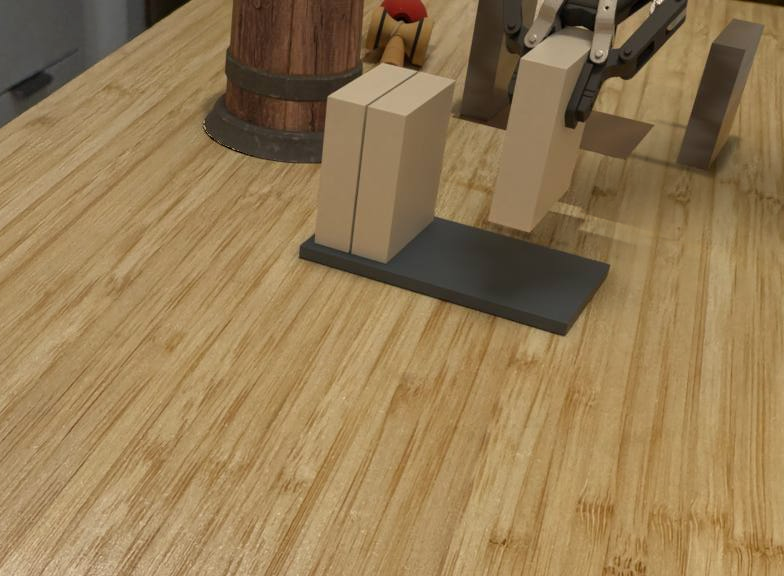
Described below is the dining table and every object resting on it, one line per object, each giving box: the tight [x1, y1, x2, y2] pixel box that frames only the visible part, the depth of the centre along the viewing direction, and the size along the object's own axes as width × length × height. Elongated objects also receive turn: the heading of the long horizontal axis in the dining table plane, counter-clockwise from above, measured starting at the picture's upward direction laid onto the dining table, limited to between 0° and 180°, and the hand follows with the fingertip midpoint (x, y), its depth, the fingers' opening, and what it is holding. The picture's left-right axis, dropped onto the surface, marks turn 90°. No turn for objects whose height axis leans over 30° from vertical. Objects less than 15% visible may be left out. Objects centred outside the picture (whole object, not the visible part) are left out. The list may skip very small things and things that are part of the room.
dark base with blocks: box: [298, 63, 611, 336], centre depth 87 cm, size 22×12×12 cm, turn 63°
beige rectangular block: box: [487, 26, 594, 233], centre depth 81 cm, size 3×10×11 cm, turn 154°
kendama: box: [364, 0, 435, 68], centre depth 126 cm, size 8×6×18 cm
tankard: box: [204, 0, 365, 164], centre depth 106 cm, size 24×17×20 cm
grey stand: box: [451, 0, 765, 172], centre depth 111 cm, size 26×12×12 cm, turn 63°
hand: (542, 114), depth 79 cm, fingers closed on beige rectangular block, 3 cm apart
